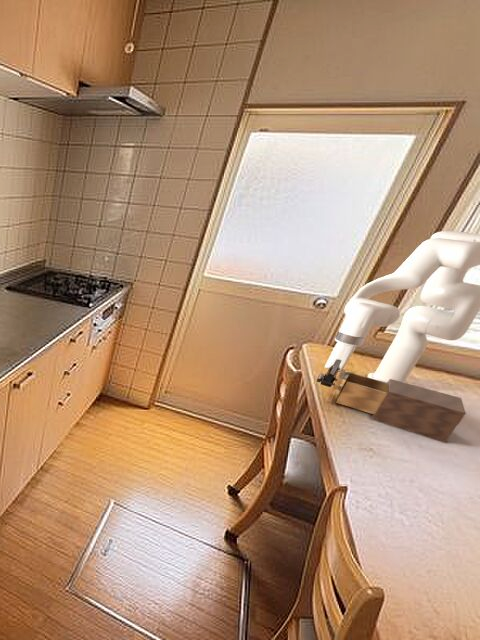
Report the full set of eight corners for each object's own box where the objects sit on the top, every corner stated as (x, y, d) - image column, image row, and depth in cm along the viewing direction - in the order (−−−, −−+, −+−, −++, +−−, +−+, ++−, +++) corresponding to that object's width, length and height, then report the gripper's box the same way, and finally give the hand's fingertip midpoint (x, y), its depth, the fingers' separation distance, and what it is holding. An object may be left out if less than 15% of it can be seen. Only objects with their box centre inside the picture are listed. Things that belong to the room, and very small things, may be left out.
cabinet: (371, 419, 142) (388, 391, 137) (373, 405, 152) (389, 378, 147) (444, 442, 132) (465, 413, 127) (441, 425, 141) (461, 398, 136)
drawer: (308, 395, 153) (319, 374, 149) (314, 384, 162) (324, 364, 158) (386, 420, 140) (401, 397, 136) (387, 407, 149) (401, 385, 145)
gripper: (338, 331, 153) (316, 375, 161) (334, 340, 143) (310, 387, 151) (365, 337, 148) (340, 382, 157) (362, 347, 139) (336, 395, 147)
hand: (325, 385), depth 154 cm, fingers closed
